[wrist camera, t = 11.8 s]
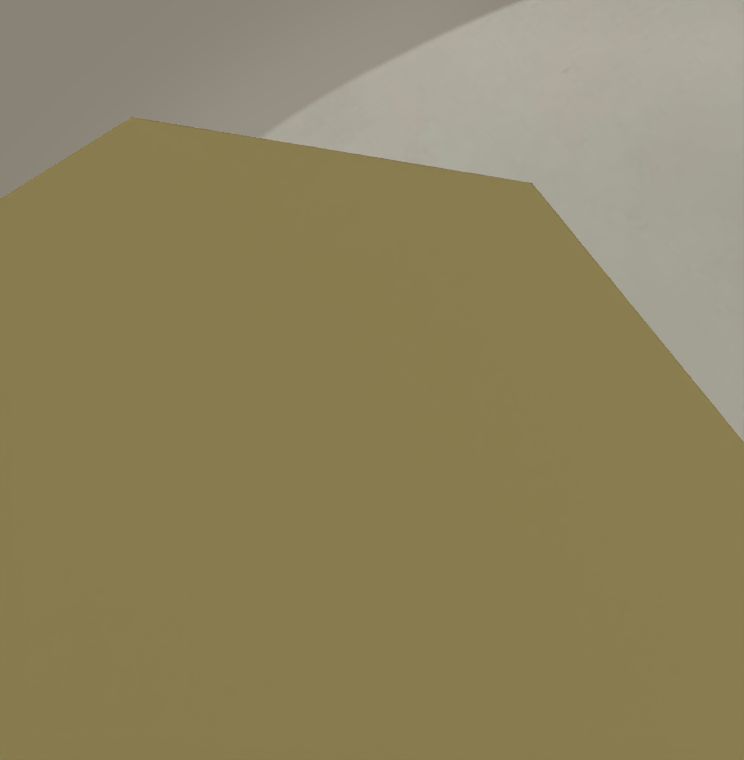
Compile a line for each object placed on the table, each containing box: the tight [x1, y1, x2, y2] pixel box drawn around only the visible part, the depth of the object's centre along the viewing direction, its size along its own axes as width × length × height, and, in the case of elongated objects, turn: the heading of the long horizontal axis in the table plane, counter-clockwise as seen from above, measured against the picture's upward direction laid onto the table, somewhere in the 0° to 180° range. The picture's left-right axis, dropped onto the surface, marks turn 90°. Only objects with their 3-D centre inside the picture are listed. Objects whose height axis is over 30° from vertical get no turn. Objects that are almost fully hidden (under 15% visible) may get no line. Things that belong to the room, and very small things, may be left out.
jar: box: [0, 117, 744, 760], centre depth 12 cm, size 9×9×15 cm
